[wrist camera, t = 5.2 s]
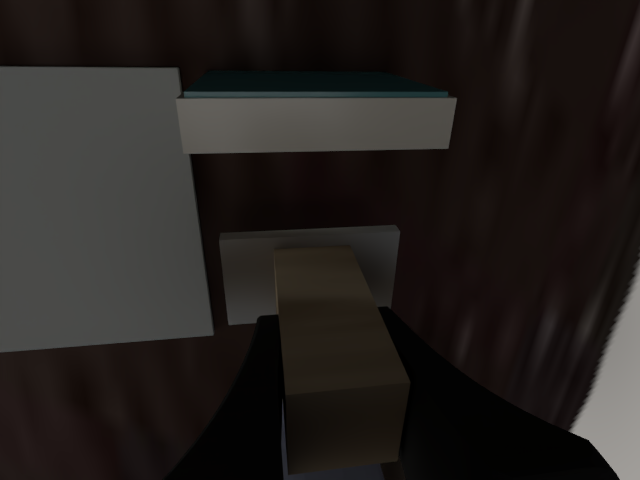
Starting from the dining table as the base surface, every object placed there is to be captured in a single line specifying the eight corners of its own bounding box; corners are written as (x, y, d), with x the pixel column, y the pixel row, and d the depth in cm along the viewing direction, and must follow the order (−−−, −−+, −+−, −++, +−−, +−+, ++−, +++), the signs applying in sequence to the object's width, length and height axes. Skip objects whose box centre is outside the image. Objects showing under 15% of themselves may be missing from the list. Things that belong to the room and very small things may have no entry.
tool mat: (214, 330, 23) (213, 335, 23) (-15, 348, 21) (-19, 353, 21) (178, 67, 16) (177, 68, 16) (-155, 64, 15) (-164, 65, 14)
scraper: (386, 304, 18) (462, 463, 11) (229, 315, 17) (212, 496, 10) (395, 224, 16) (492, 359, 10) (220, 232, 15) (193, 388, 9)
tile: (384, 109, 19) (448, 148, 12) (208, 110, 17) (183, 153, 11) (387, 71, 18) (458, 92, 12) (204, 70, 17) (174, 92, 11)
